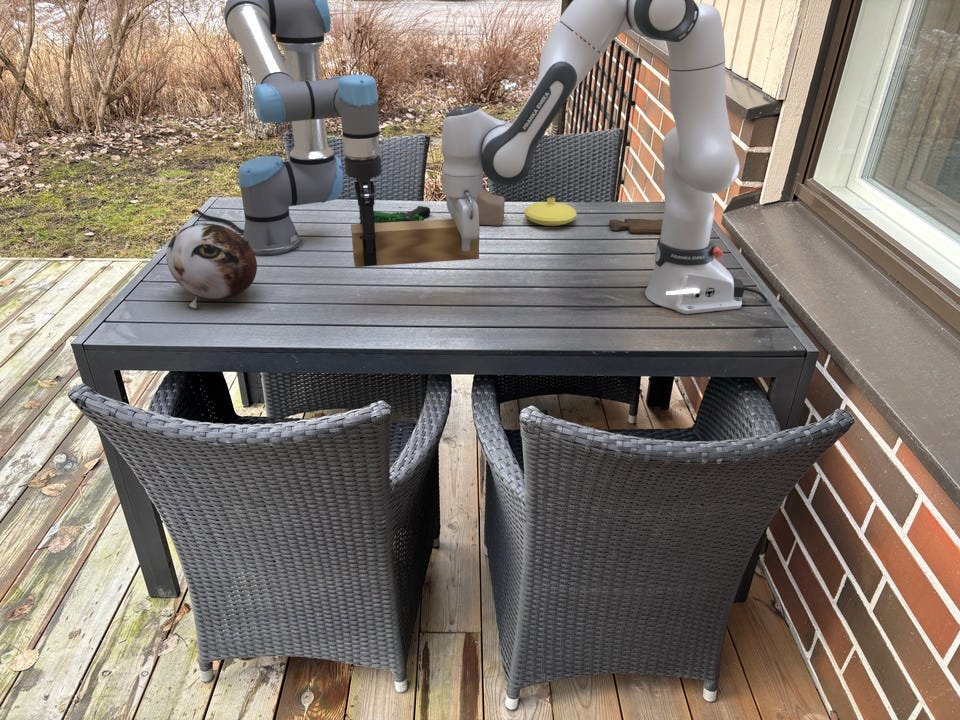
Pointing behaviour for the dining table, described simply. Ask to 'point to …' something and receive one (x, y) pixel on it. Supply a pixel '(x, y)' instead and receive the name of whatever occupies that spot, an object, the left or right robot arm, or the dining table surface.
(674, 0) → the right robot arm
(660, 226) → the dark wooden board
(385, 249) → the bar
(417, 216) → the handgun
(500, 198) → the decorative block
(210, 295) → the cat face balloon
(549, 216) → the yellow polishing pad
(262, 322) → the dining table surface
